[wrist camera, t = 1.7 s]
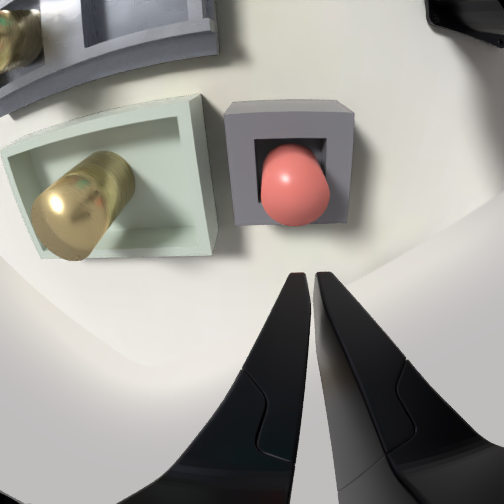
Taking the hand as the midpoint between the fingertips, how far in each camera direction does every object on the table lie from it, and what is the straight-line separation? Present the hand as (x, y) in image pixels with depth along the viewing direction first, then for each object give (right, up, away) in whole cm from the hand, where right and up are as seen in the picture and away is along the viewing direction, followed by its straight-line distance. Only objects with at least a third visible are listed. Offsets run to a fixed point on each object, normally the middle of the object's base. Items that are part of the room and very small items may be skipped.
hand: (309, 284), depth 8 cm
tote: (-11, +6, +11) cm, 17 cm away
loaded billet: (-17, +15, +4) cm, 23 cm away
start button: (0, +5, +7) cm, 8 cm away
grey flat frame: (-12, +16, +4) cm, 20 cm away
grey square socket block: (+1, +7, +10) cm, 12 cm away
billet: (-11, +6, +11) cm, 17 cm away
